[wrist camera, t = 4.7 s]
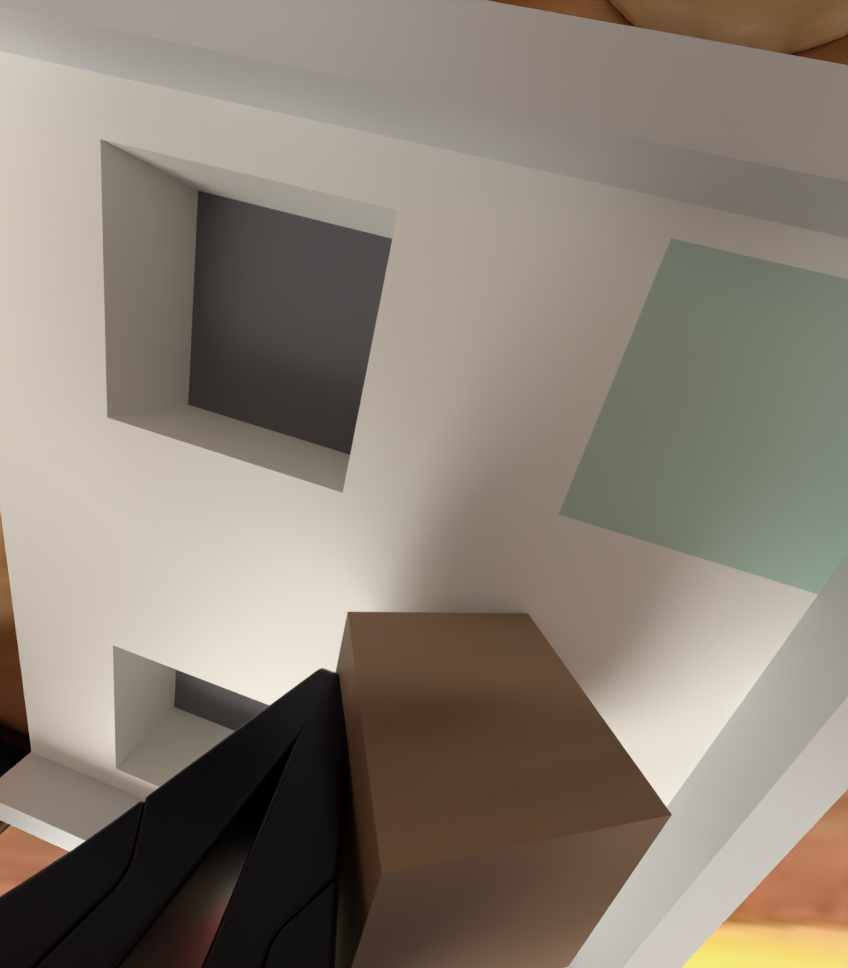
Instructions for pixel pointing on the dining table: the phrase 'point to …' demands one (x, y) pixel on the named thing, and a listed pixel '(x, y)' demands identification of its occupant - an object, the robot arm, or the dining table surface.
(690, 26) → the hand bell
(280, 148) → the box
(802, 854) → the dining table surface
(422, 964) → the walnut block
